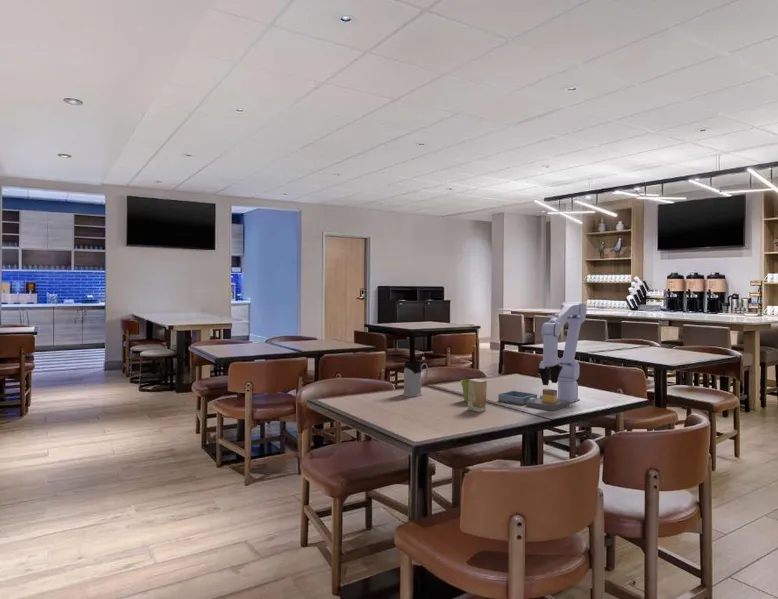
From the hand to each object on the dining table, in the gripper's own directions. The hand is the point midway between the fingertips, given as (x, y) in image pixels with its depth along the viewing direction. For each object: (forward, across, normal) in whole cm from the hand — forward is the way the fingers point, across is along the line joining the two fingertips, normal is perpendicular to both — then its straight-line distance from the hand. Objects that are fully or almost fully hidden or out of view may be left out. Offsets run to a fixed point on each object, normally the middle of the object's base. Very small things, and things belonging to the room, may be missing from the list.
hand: (549, 384), depth 228 cm
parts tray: (+9, 0, -15) cm, 18 cm away
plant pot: (+10, +15, -29) cm, 34 cm away
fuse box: (+9, 0, -1) cm, 9 cm away
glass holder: (+10, +20, -56) cm, 60 cm away
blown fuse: (+9, 0, 0) cm, 9 cm away
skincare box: (+10, +28, -17) cm, 34 cm away
